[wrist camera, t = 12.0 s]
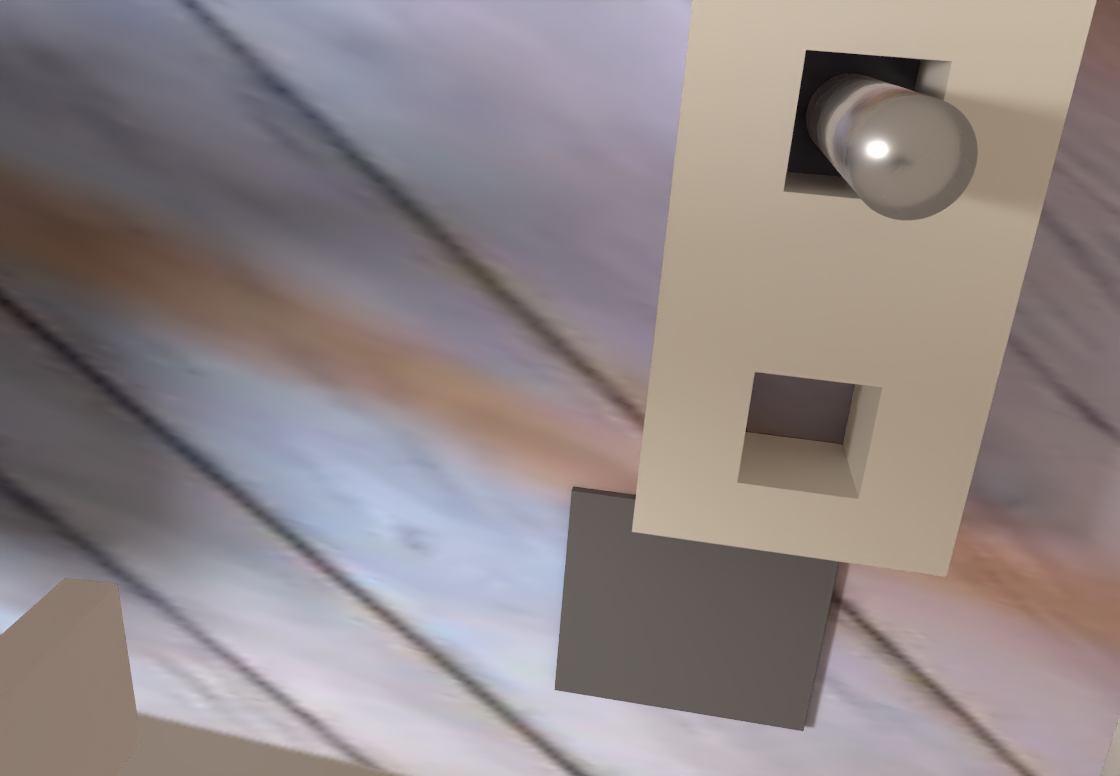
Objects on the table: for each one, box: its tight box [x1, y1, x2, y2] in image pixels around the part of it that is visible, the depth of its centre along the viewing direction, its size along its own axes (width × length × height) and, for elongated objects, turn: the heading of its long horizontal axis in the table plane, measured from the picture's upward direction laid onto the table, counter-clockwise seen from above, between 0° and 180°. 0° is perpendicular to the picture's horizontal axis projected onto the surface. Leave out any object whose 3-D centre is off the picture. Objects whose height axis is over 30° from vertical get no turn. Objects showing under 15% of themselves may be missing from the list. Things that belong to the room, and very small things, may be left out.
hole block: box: [632, 0, 1097, 577], centre depth 35 cm, size 12×21×5 cm, turn 175°
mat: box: [555, 487, 839, 731], centre depth 44 cm, size 12×11×1 cm
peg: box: [806, 73, 978, 221], centre depth 29 cm, size 3×3×13 cm
